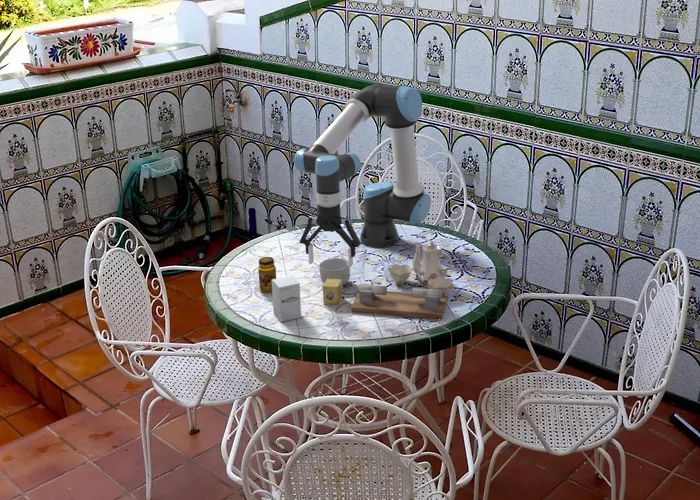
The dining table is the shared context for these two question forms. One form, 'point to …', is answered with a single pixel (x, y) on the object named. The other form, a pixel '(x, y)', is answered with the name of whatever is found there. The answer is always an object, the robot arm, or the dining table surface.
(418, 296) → the rig
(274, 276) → the condiment
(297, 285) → the supplement box
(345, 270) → the teacup
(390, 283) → the dining table surface
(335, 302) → the block
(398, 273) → the chinaware
